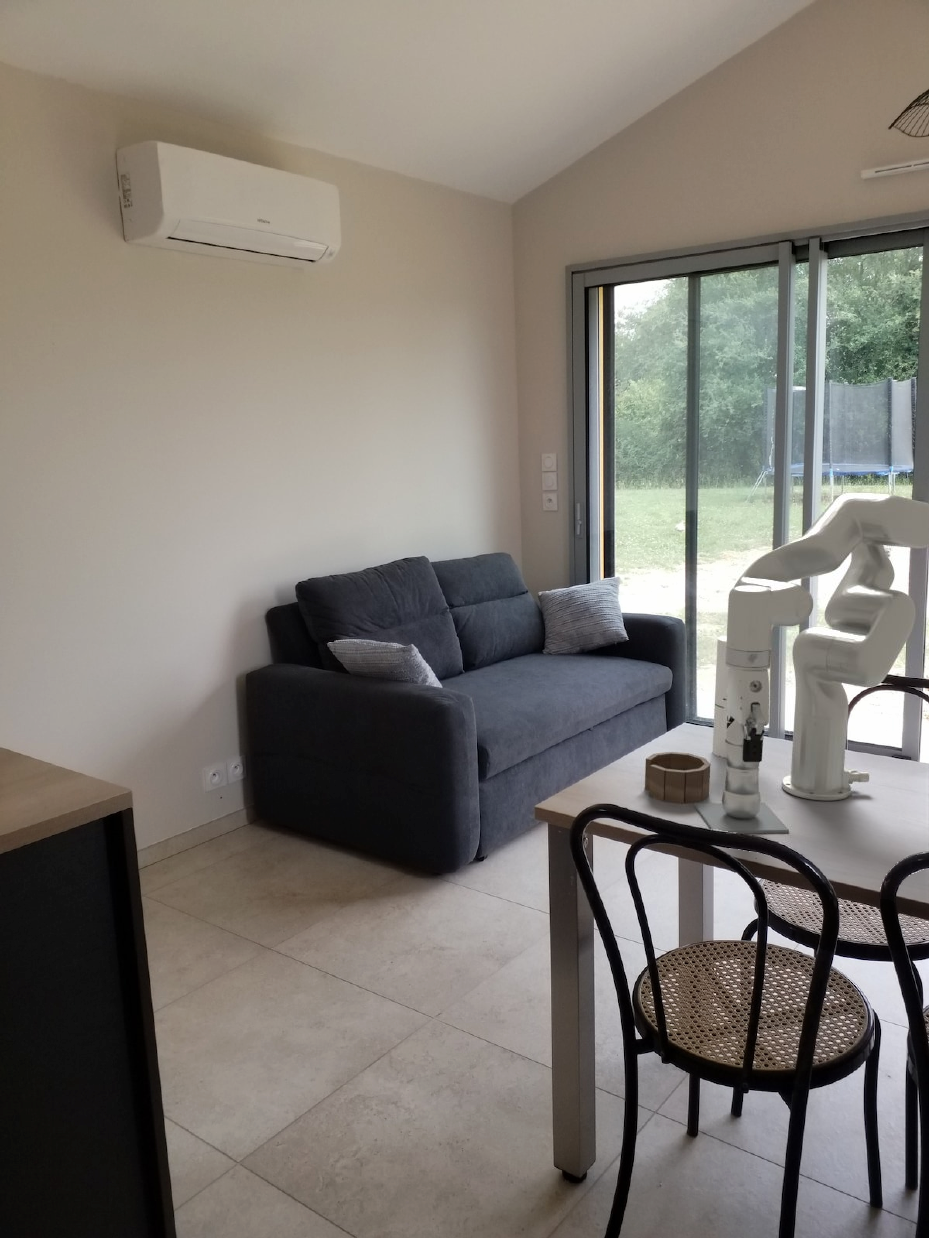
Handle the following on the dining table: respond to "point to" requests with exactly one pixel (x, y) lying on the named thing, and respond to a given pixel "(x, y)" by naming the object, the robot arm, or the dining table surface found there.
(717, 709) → the cylindrical container
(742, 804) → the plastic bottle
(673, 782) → the ring holder
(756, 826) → the rubber mat
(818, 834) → the dining table surface
